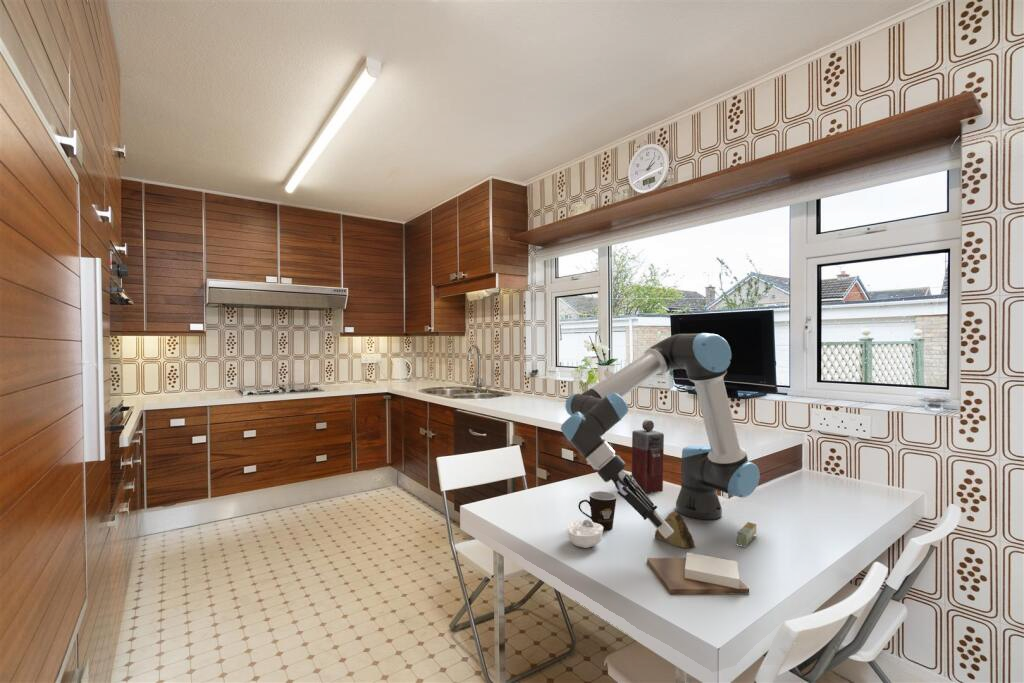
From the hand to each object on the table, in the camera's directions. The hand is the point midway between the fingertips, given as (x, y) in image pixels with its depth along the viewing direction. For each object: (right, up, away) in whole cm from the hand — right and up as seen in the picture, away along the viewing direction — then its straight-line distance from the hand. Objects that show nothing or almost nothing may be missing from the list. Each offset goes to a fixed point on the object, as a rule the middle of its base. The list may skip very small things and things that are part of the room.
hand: (669, 534), depth 121 cm
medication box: (+30, -11, +21) cm, 38 cm away
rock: (+7, -10, +18) cm, 22 cm away
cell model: (-20, -9, +15) cm, 26 cm away
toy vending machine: (+15, -10, +69) cm, 71 cm away
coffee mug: (-13, -9, +29) cm, 33 cm away
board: (+5, -9, -3) cm, 11 cm away
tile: (+4, -7, -2) cm, 8 cm away
